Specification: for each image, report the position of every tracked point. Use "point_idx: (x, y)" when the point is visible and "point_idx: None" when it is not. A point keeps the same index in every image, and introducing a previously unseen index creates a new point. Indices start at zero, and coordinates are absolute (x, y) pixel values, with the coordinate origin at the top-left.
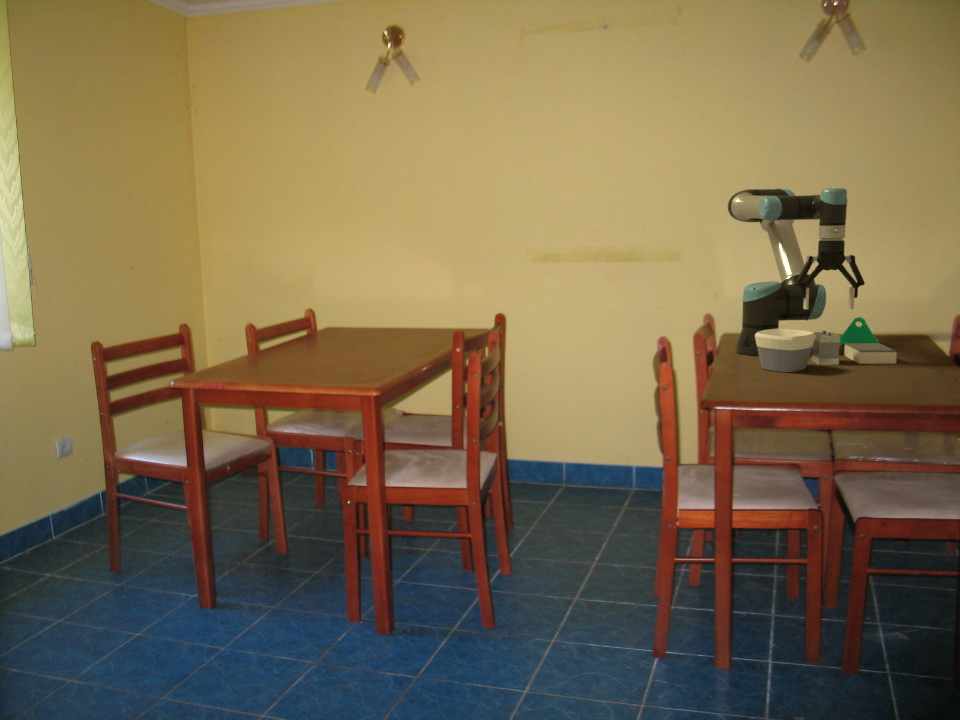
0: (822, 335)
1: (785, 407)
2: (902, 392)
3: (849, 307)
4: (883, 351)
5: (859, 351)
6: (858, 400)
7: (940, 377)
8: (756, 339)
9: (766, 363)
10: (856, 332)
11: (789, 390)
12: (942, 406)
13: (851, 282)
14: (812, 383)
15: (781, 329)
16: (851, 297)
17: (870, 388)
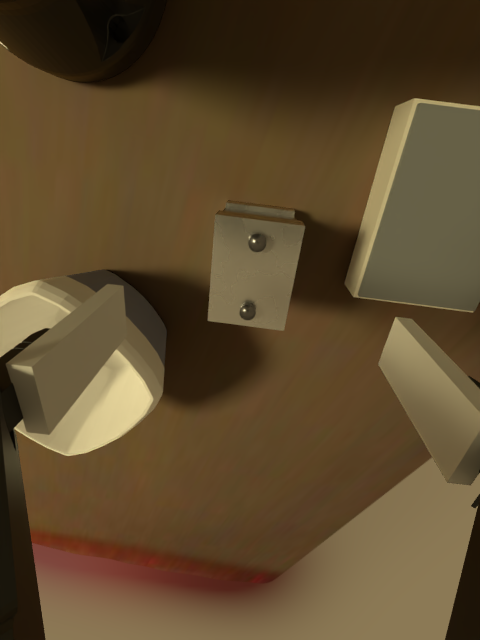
0: (221, 310)
1: (71, 552)
2: (262, 522)
3: (391, 339)
4: (433, 304)
5: (360, 285)
6: (175, 543)
7: (414, 451)
8: None
9: None
10: None
11: (90, 489)
12: (268, 574)
13: (473, 534)
14: (140, 457)
15: (46, 299)
16: (410, 409)
17: (226, 497)
